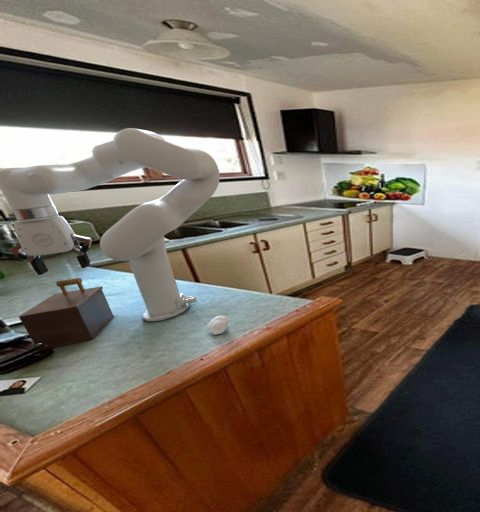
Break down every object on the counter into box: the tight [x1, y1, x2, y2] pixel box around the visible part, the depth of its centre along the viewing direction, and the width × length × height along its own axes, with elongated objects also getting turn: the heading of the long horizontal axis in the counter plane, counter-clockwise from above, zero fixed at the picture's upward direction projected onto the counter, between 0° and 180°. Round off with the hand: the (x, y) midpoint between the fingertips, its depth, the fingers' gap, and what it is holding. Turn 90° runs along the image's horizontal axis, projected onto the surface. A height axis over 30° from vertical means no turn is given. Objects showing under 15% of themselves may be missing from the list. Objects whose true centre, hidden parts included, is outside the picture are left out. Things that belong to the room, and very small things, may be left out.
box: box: [19, 289, 115, 352], centre depth 82 cm, size 14×12×10 cm
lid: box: [18, 277, 104, 320], centre depth 79 cm, size 14×12×5 cm
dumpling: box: [206, 315, 229, 336], centre depth 81 cm, size 7×5×4 cm
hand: (65, 269), depth 82 cm, fingers open, 9 cm apart
